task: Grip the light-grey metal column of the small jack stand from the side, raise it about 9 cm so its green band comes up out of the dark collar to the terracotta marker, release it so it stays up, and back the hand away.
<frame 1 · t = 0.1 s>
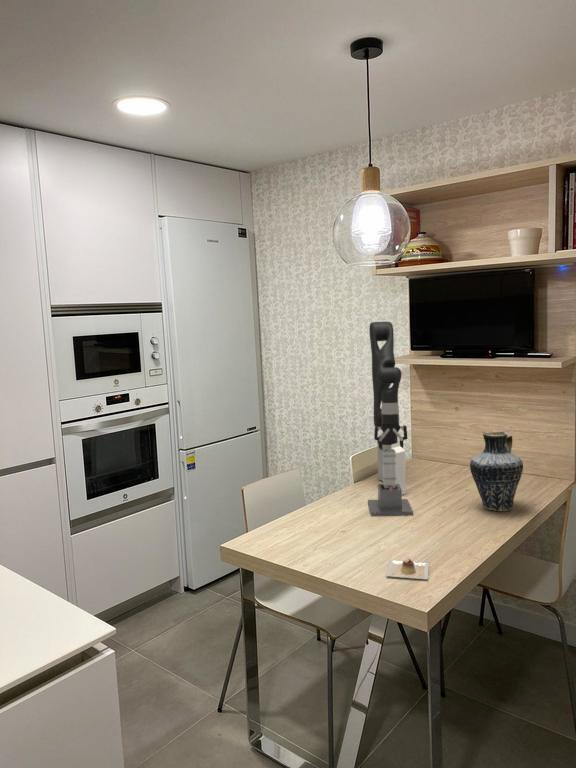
hand: (391, 449, 269), 17 cm above the table, tool pointing down, fingers open, 8 cm apart
dessert: (408, 573, 184), on the table
jug: (496, 508, 239), on the table
column: (389, 477, 240), point 13 cm above the table, slide at 0.0 cm
milk: (396, 494, 261), on the table
stand: (389, 509, 242), on the table
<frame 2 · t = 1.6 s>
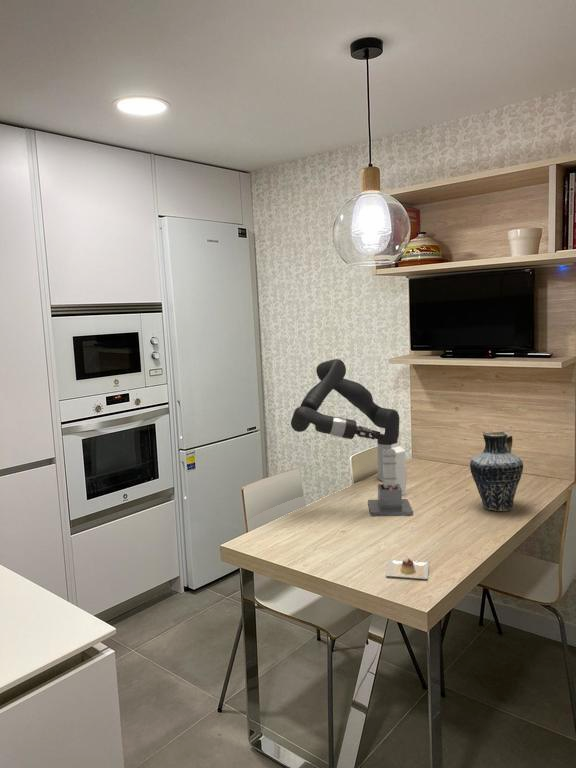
hand: (382, 436, 239), 29 cm above the table, tool horizontal, fingers open, 8 cm apart
nothing on the table moved.
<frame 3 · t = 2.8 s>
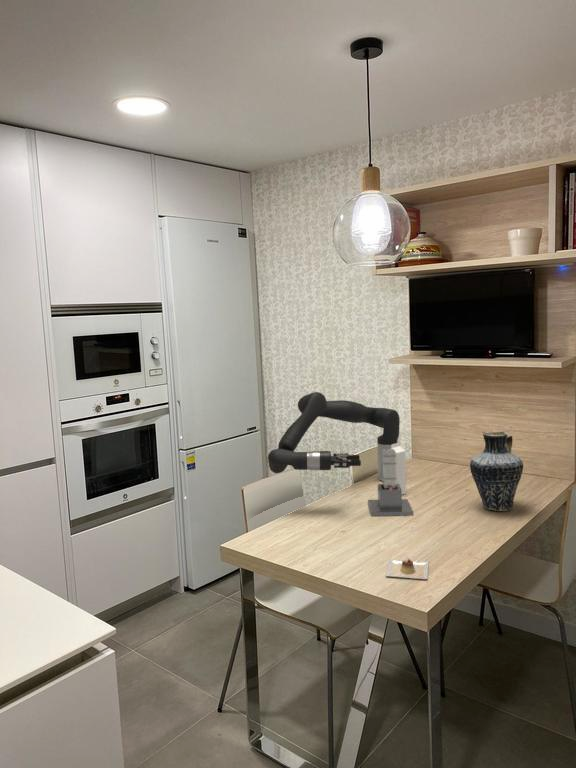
hand: (360, 460, 240), 20 cm above the table, tool horizontal, fingers open, 8 cm apart
nothing on the table moved.
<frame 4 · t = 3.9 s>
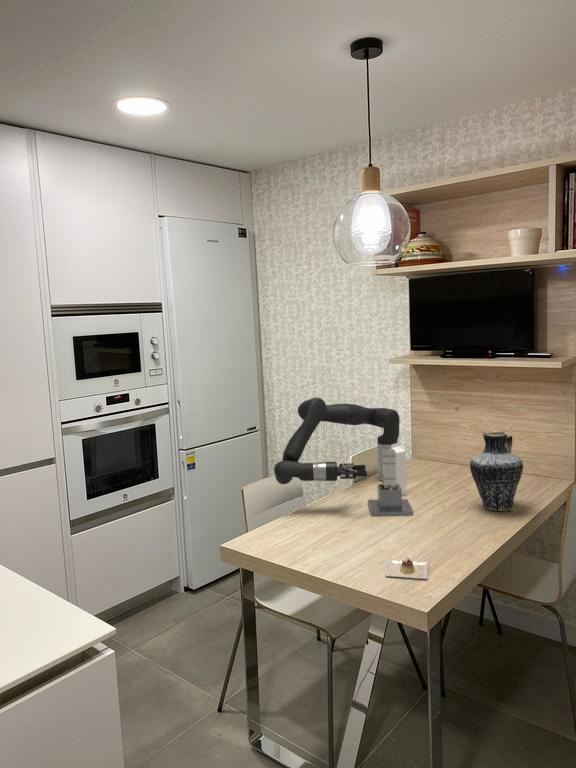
hand: (366, 470, 240), 16 cm above the table, tool horizontal, fingers open, 8 cm apart
nothing on the table moved.
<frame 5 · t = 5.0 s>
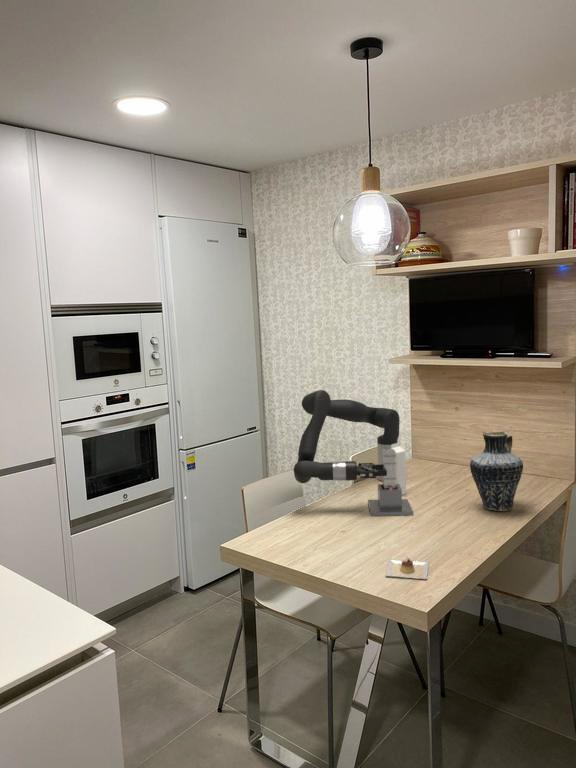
hand: (385, 469, 240), 16 cm above the table, tool horizontal, fingers open, 8 cm apart
nothing on the table moved.
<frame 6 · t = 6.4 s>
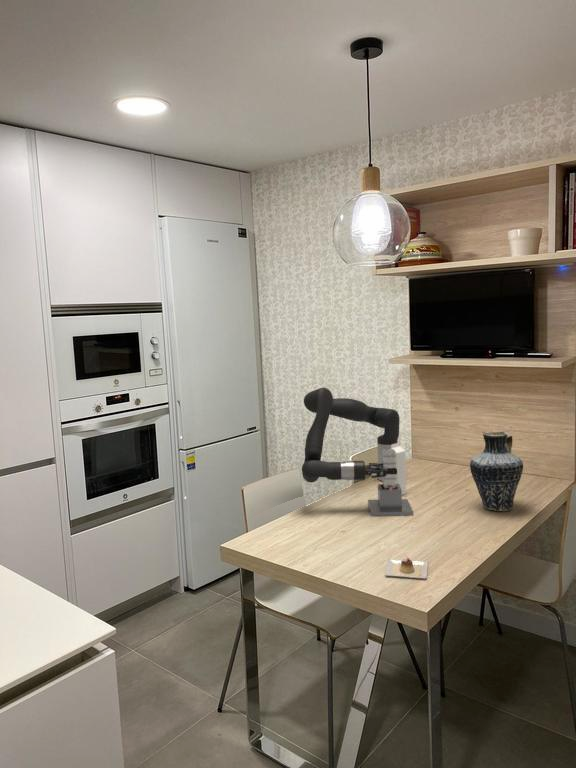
hand: (396, 469, 240), 16 cm above the table, tool horizontal, fingers closed on column, 4 cm apart
column: (389, 477, 240), point 13 cm above the table, slide at 0.0 cm, touching gripper
everything else where it was.
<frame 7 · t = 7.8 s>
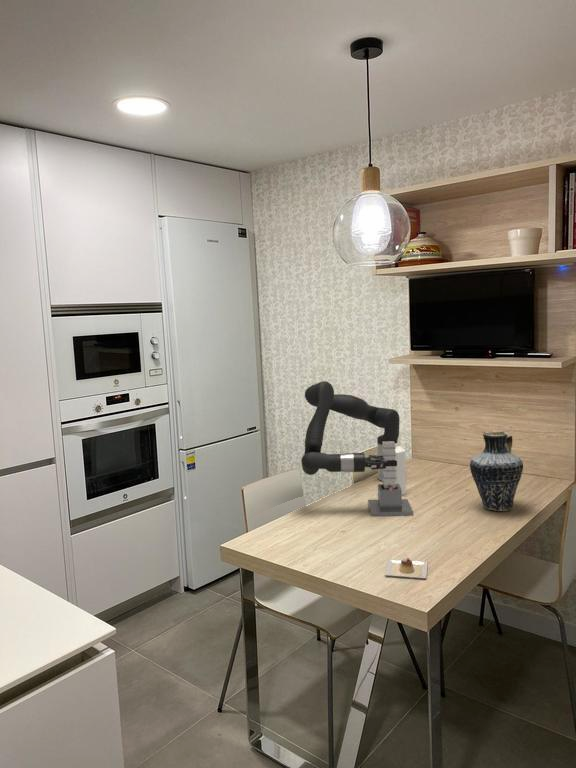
hand: (395, 461, 239), 19 cm above the table, tool horizontal, fingers closed on column, 4 cm apart
column: (389, 470, 240), point 16 cm above the table, slide at 3.2 cm, touching gripper
everything else where it was.
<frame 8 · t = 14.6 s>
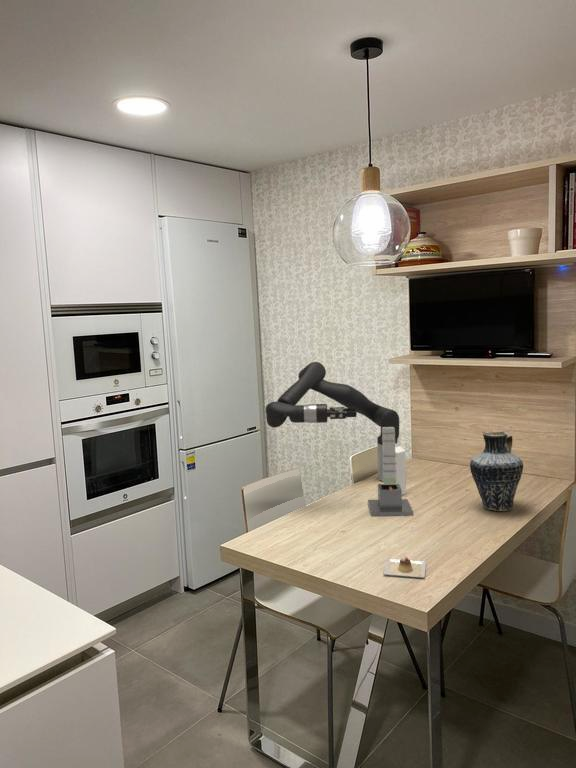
hand: (355, 412, 245), 38 cm above the table, tool horizontal, fingers open, 8 cm apart
column: (388, 455, 239), point 22 cm above the table, slide at 9.0 cm
at the end: column slide at 9.0 cm; the gripper is holding nothing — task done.
